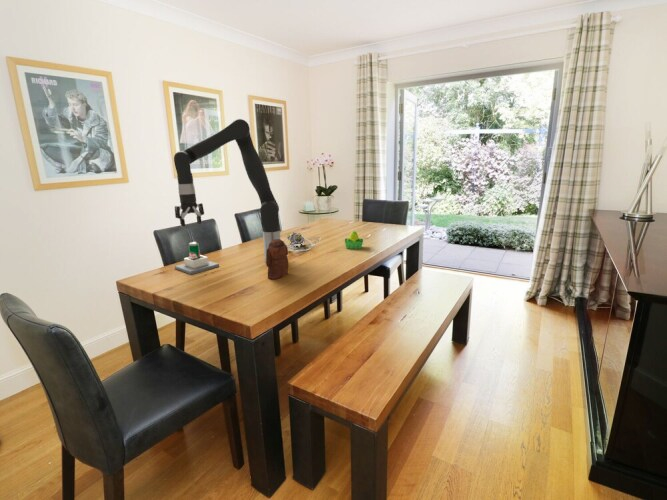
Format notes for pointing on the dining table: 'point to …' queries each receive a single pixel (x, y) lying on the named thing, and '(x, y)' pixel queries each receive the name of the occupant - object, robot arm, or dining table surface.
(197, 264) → the can holder
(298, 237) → the passion flower
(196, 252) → the soda can
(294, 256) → the dining table surface
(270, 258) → the wooden figurine
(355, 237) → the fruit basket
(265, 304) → the dining table surface
